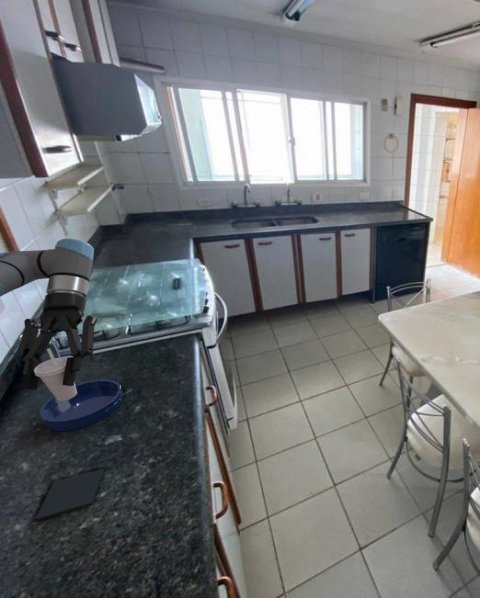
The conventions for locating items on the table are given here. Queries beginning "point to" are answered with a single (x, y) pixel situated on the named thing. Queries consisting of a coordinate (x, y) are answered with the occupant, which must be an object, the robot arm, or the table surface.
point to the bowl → (82, 406)
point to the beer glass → (51, 345)
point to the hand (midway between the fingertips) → (49, 387)
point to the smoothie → (55, 377)
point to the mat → (70, 494)
